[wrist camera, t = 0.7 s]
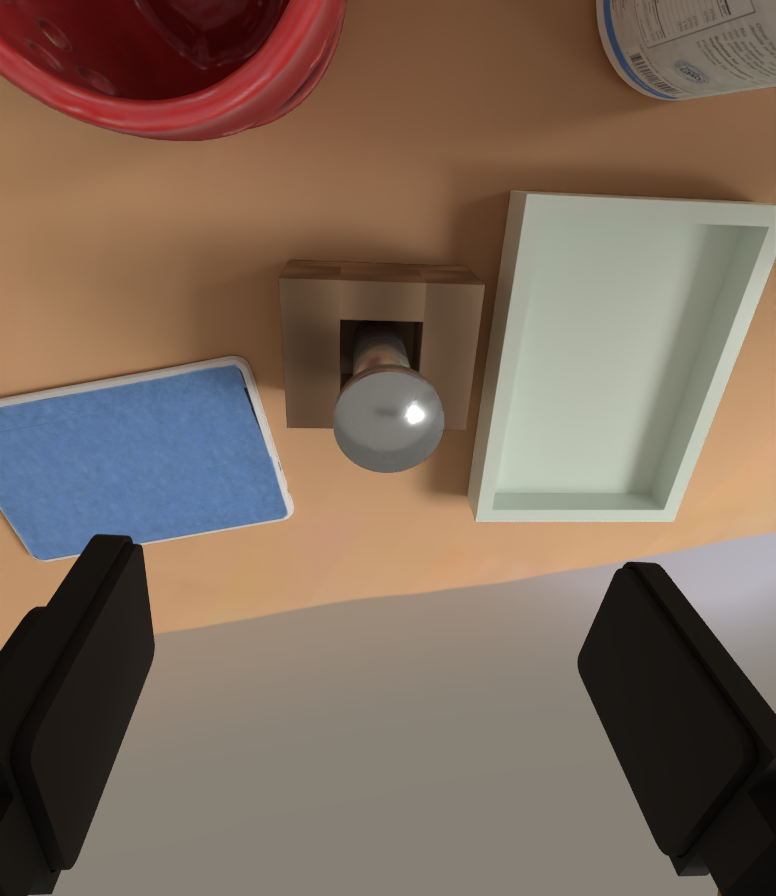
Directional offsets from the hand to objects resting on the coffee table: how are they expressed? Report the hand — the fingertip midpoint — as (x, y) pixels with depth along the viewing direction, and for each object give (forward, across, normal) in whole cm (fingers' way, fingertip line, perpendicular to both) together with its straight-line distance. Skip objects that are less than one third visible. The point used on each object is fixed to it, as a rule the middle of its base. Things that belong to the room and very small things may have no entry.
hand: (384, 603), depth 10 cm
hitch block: (+23, -1, +1) cm, 23 cm away
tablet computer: (+24, +14, +12) cm, 31 cm away
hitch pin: (+22, -1, +1) cm, 22 cm away
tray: (+23, -15, +2) cm, 28 cm away
